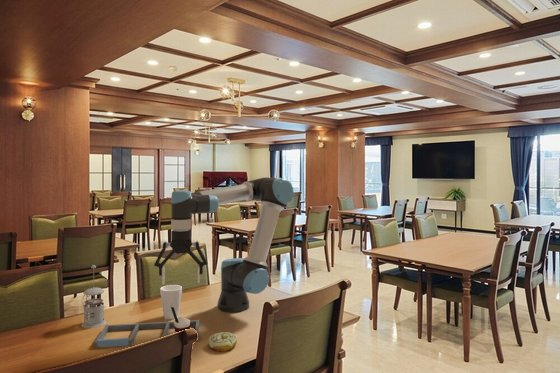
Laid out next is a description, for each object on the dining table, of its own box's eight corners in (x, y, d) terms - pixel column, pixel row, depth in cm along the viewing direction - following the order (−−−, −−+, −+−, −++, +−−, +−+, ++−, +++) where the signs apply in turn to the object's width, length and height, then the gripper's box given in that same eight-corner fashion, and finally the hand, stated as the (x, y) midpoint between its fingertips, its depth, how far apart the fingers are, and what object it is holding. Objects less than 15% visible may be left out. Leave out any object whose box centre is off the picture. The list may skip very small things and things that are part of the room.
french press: (90, 330, 162) (89, 269, 161) (73, 324, 168) (73, 265, 168) (111, 322, 171) (111, 264, 170) (95, 317, 177) (94, 260, 176)
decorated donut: (207, 353, 143) (207, 342, 143) (210, 340, 154) (210, 330, 154) (236, 352, 144) (236, 341, 144) (237, 339, 155) (237, 330, 154)
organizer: (199, 324, 169) (199, 319, 169) (197, 341, 152) (197, 334, 152) (106, 329, 163) (106, 323, 162) (94, 347, 146) (94, 341, 146)
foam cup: (176, 321, 172) (176, 291, 172) (156, 319, 174) (156, 290, 174) (185, 313, 182) (185, 285, 181) (166, 312, 183) (166, 284, 183)
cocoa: (190, 330, 164) (191, 301, 164) (195, 335, 158) (195, 304, 159) (166, 333, 159) (167, 303, 159) (170, 339, 154) (171, 307, 154)
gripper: (213, 227, 163) (213, 279, 164) (149, 228, 159) (149, 281, 160) (213, 230, 156) (213, 284, 157) (146, 231, 152) (146, 286, 153)
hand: (181, 283), depth 158 cm, fingers open, 13 cm apart
